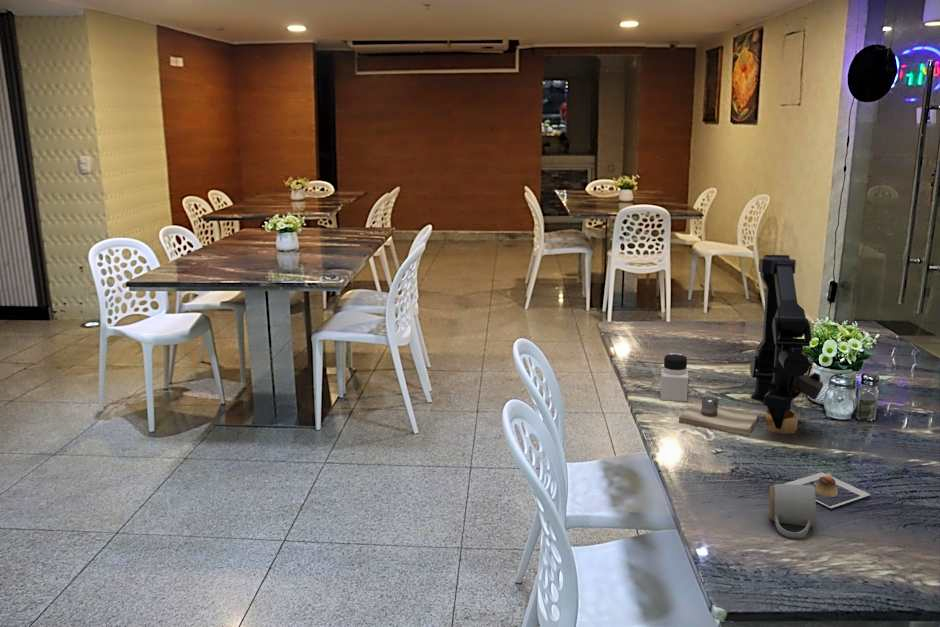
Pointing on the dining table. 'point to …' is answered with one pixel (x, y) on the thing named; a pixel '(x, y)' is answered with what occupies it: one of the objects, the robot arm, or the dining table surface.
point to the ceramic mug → (792, 507)
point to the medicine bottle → (674, 378)
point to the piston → (709, 406)
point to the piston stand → (720, 419)
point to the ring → (787, 425)
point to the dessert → (829, 487)
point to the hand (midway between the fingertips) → (781, 423)
